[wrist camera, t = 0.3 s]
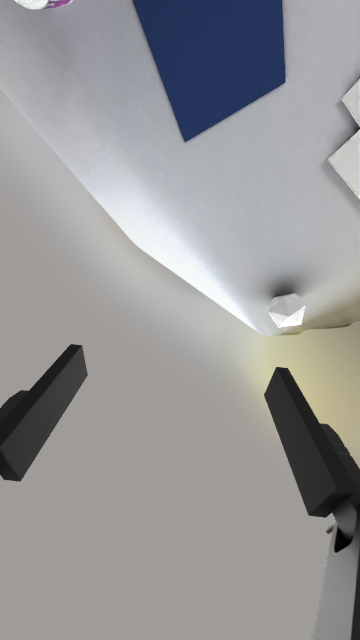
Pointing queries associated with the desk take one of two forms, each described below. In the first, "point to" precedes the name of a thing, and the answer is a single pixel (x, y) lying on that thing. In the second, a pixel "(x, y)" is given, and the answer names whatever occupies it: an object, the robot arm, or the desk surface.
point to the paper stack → (350, 145)
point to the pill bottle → (43, 3)
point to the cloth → (214, 55)
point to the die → (287, 310)
